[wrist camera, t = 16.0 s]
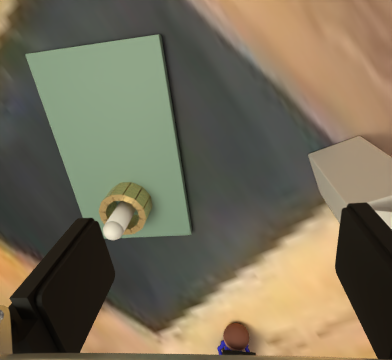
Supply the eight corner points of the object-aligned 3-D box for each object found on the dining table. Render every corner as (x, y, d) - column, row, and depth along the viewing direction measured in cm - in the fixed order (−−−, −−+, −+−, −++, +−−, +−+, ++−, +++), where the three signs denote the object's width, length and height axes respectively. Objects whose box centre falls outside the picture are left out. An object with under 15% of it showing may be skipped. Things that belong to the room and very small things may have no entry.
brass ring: (104, 183, 44) (93, 196, 40) (147, 180, 43) (140, 193, 39) (115, 220, 47) (106, 235, 43) (155, 218, 46) (149, 233, 42)
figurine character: (244, 357, 64) (254, 320, 56) (246, 396, 58) (257, 361, 49) (215, 353, 65) (220, 316, 56) (213, 392, 58) (219, 356, 50)
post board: (32, 53, 38) (-32, 56, 28) (161, 34, 35) (138, 31, 26) (94, 234, 50) (64, 277, 41) (191, 229, 48) (183, 274, 38)
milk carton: (319, 193, 43) (383, 292, 26) (307, 153, 40) (368, 233, 23) (369, 177, 41) (472, 272, 24) (359, 134, 38) (467, 206, 21)
